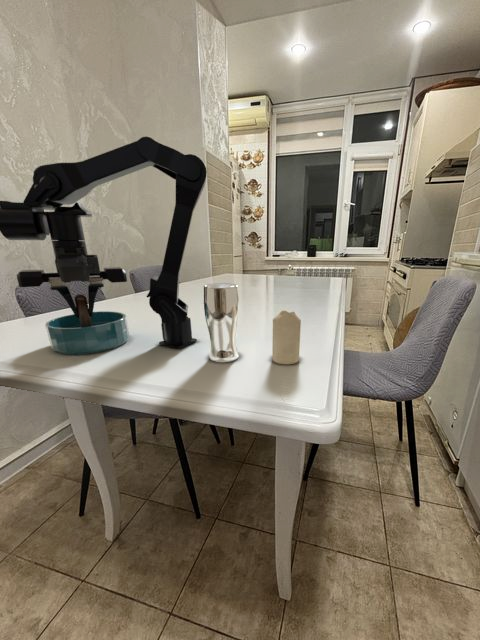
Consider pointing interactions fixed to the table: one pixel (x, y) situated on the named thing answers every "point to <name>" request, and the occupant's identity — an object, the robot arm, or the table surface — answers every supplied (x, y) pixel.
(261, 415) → the table surface
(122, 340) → the bowl
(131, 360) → the table surface
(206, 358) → the table surface
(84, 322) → the brown rod
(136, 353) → the table surface
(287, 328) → the candle
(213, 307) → the beer glass
